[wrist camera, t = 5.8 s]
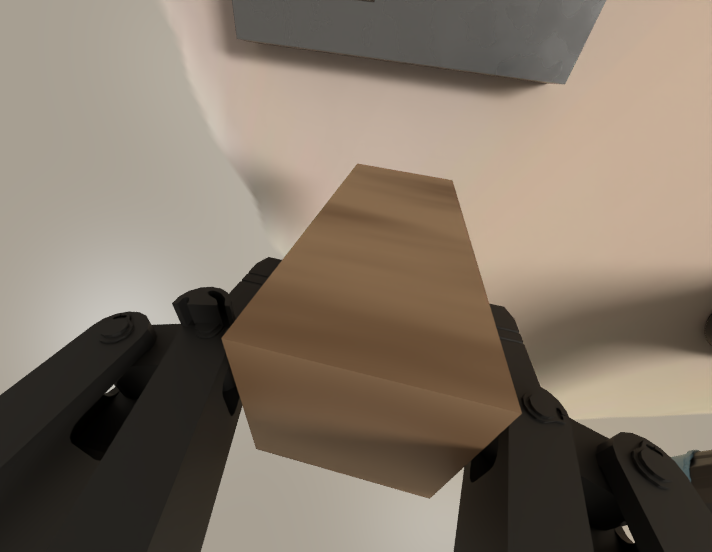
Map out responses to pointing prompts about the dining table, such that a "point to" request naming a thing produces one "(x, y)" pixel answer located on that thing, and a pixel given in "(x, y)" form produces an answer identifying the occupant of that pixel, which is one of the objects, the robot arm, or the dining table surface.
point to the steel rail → (432, 32)
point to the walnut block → (376, 340)
